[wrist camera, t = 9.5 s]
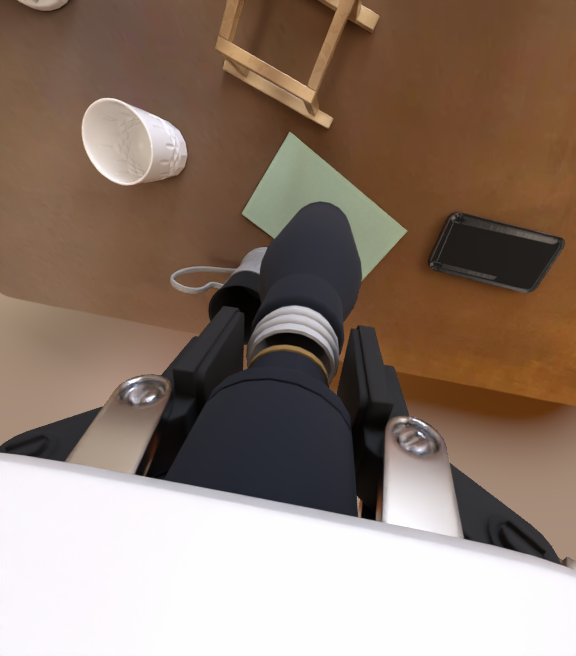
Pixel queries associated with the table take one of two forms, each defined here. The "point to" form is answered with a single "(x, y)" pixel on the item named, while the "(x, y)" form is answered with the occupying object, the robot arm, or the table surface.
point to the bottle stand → (273, 80)
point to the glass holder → (232, 288)
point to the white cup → (131, 143)
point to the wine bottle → (287, 379)
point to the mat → (319, 185)
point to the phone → (494, 252)
